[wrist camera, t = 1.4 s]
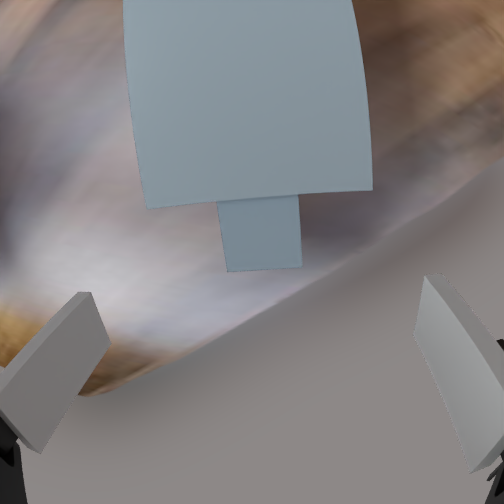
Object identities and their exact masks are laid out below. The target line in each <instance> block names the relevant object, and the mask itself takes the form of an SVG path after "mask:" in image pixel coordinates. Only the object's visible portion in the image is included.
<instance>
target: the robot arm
mask: <svg viewBox="0 0 504 504" xmlns="http://www.w3.org/2000/svg"><path fill="white" fill-rule="evenodd" d="M413 336H414V338H415V340H416V342H417V344H418V346H419V348H420V350H421V352H422V354H423V357H424V359H425V361H426V363H427V365H428V367H429V369H430V372H431V374H432V376H433V378H434V380H435V383H436V385H437V387H438V390H439V392H440V394H441V397H442V399H443V401H444V404H445V406H446V409H447V411H448V414H449V416H450V419H451V421H452V424H453V426H454V429H455V432H456V434H457V437H458V440H459V443H460V445H461V448H462V451H463V454H464V457H465V460H466V463H467V466H468V469H469V472H470V473H473V472H475V471H478V470H480V469H483V468H485V467H487V466H490V465H491V464H492V463H493V462H494V461H495V460H496V459H497V457H499V455H501V457H502V460H503V462H502V463H501V464H500V465H499V466H498V467H497V468H496V469H495V470H494V471H493V472H492V473H491V474H490V476H489V477H488V479H487V481H490V480H491V479H492V478H493V477H494V476H495V475H496V477H495V479H494V482H493V485H492V487H491V490H490V492H489V495H488V497H487V499H486V502H485V504H504V340H503V339H500V340H495V338H494V337H493V336H492V334H491V333H490V332H489V330H488V329H487V328H486V326H485V325H484V324H483V323H482V321H481V320H480V319H479V318H478V316H477V315H476V314H475V312H474V311H473V310H472V309H471V307H470V306H469V305H468V304H467V303H466V301H465V300H464V299H463V298H462V297H461V295H460V294H459V293H458V292H457V291H456V289H455V288H454V287H453V286H452V285H451V284H450V282H449V281H447V279H446V278H445V277H444V276H443V275H442V274H441V273H440V274H431V275H424V280H423V287H422V293H421V298H420V304H419V309H418V315H417V319H416V324H415V329H414V333H413ZM110 345H111V341H110V339H109V337H108V334H107V332H106V330H105V327H104V325H103V322H102V320H101V317H100V315H99V312H98V310H97V307H96V304H95V302H94V299H93V296H92V294H91V292H78V293H77V294H76V295H75V296H74V297H72V298H71V299H70V300H69V301H68V302H67V303H66V304H65V305H64V306H63V307H62V308H61V309H60V310H59V311H58V312H57V313H56V314H55V315H54V316H53V317H52V318H51V319H50V320H49V321H48V322H47V323H46V324H45V325H44V326H43V327H42V328H41V330H40V331H39V332H38V333H37V334H36V335H35V336H34V337H33V338H32V339H31V340H30V341H29V342H28V343H27V344H26V345H25V347H24V348H23V349H22V350H21V351H20V352H19V353H18V354H17V355H16V356H15V358H14V359H13V360H12V361H11V362H10V363H9V364H8V365H7V367H6V368H5V369H4V370H3V371H2V372H1V374H0V504H28V503H27V498H26V493H25V486H24V479H23V472H22V462H21V452H20V447H19V445H18V444H17V442H16V440H17V439H18V438H19V439H20V440H21V441H22V442H23V443H24V444H25V445H26V446H27V447H28V448H29V449H31V450H33V451H35V452H37V453H39V454H41V453H42V451H43V449H44V447H45V446H46V444H47V443H48V441H49V439H50V438H51V436H52V434H53V432H54V431H55V429H56V428H57V426H58V424H59V423H60V421H61V419H62V418H63V416H64V415H65V413H66V411H67V410H68V408H69V407H70V405H71V404H72V402H73V400H74V399H75V397H76V396H77V394H78V393H79V391H80V390H81V388H82V387H83V385H84V384H85V382H86V381H87V379H88V377H89V376H90V374H91V373H92V371H93V370H94V369H95V367H96V366H97V364H98V363H99V361H100V360H101V358H102V357H103V355H104V354H105V352H106V351H107V349H108V348H109V347H110Z"/></svg>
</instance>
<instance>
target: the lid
mask: <svg viewBox="0 0 504 504" xmlns="http://www.w3.org/2000/svg"><path fill="white" fill-rule="evenodd" d="M123 23H124V44H125V59H126V71H127V82H128V92H129V101H130V110H131V118H132V125H133V133H134V140H135V146H136V153H137V159H138V165H139V171H140V176H141V182H142V187H143V193H144V198H145V203H146V208H147V210H148V209H155V208H163V207H171V206H179V205H187V204H196V203H205V202H215V201H216V202H217V209H218V215H219V222H220V229H221V235H222V242H223V248H224V254H225V260H226V267H227V272H237V271H254V270H270V269H286V268H301V267H302V248H301V230H300V215H299V200H298V194H310V193H327V192H346V191H371V190H373V177H372V150H371V133H370V120H369V109H368V99H367V89H366V81H365V73H364V66H363V59H362V52H361V46H360V40H359V35H358V29H357V24H356V19H355V14H354V9H353V5H352V0H123Z"/></svg>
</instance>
